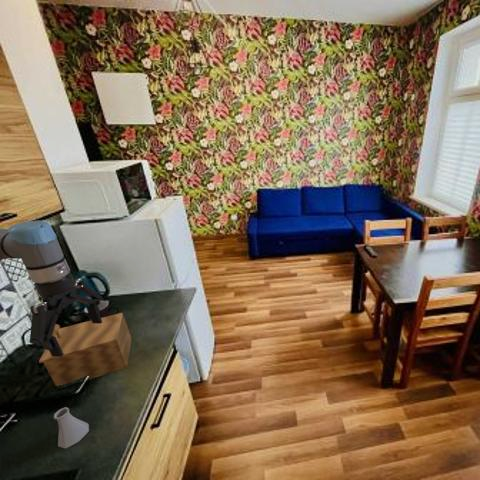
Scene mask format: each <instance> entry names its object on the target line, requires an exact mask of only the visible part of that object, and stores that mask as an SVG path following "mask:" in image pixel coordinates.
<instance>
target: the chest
mask: <svg viewBox="0 0 480 480" xmlns="http://www.w3.org/2000/svg"><path fill="white" fill-rule="evenodd" d="M131 346H132V336H131V333H130V331H129V327H128V324H127V322H126V318H125V316H124V315H123V316H122V320H121V324H120V329H119V333H118V338H117V341H115V342H111V343H108V344H104V345H101V346H97V347H94V348H90V349H87V350H84V351H80V352H77V353H73V354H70V355H66V356H63V357H59V358H56V359H53V360H49V361H46V362H42V363H43V365H44V367H45V369H46V370H47V372H48V374H49V376H50V378H51V379H52V382H53V383H54V385H55V387H56V386H59V385H63V384H67V383H70V382H72V381H75V380H78V379H80V378H83V377H85V376H89V380H88V381H90V380H93V379H96V378H99V377H103V376H105V375H108V374H111V373H114V372H117V371H120V370H123V369H127V368H128V365H129V360H130V359H129V358H130V351H131Z"/></svg>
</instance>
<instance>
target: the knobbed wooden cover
mask: <svg viewBox="0 0 480 480" xmlns="http://www.w3.org/2000/svg"><path fill="white" fill-rule="evenodd" d="M122 316H124V314H123V312H118V314H116V313H115V314H111V316H107V317H103V318H101V319H102V323H101V324H99V323H92V321H90V320H88V321H85V322H80V323H76V324H73V325H72V324H71V325H68V326H65V327H61V326H60V324H58V323H56V324H55V328H54V331H53V334H52V337H56V339H57V342H58V344H59V346H60V348H61V350H62V352H63V354H64V355H63V356H66V355H70V354H73V353H77V352H80V351H84V350H87V349H90V348H94V347H97V346H101V345H104V344H108V343H111V342H115V341H117V338H118V333H119V329H120V324H121V320H122ZM63 356H62V357H63ZM56 358H59V357H55V356H52V355H51V353H50V351H49V350H45V349H44V351H43V353H42V355H41V357H40V359H39V361H38V362H39V364H42V363H43V362H46V361H49V360H53V359H56Z"/></svg>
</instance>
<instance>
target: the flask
mask: <svg viewBox="0 0 480 480" xmlns="http://www.w3.org/2000/svg"><path fill="white" fill-rule="evenodd" d="M53 414H54V415H53V419H54V420H56V421H57V423H58V440H57V447H59V448H62V449H68V448H70V447H72V446H74V445H75V444H77V443H79V442H80V441H82V439H83V438H84V437H85V436H86V435H87V434H88V433H89V432H90V425H89V423H88V422H85V421H83V420H81V419H78V418H77V417H75V416H73V415H72V414H71V413H70V408H69V407H66V406H65V407H63V408H60V409H58V410H57V411H56V412H55V413H53Z"/></svg>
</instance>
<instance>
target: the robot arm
mask: <svg viewBox="0 0 480 480" xmlns="http://www.w3.org/2000/svg"><path fill="white" fill-rule="evenodd" d="M6 259H14V260H16V259H17V260H18V259H21V261H22V263H23V265H24V267H25V269H26V271H27V274H28V276H29V278H30V280H31V282H32V283H34V284H33V286H34V288H35V290H36V292H37V294H38V295H39V297H41V298H42V302H41V303H39V304H36V305H35V304H34V305H31V306H30V307H29V308H30V312H31V324H30V335H29V343H30V344H33V345H34V344H35V345H42V346H43V349H44V351H45V350H49V351H50V353H51V355H52V356H55V357H62V356H63V355H64V354H63V352H62V350H61V348H60V346H59V344H58V342H57V339H56V337H52V334H53V331H54V328H55V324H57V321H58V318H59V315H60V314H62V311H63V310H64V309H66V308H67V307H68V306H70V305H71V304H73V303H74V301H75V302H78V303H82V304H85V305H86V306H85V308H87V311H88V313H89V316H90V318H91V320H92V323H99V324H101V323H102V319H101V317H100V314H99V312H100V310H99V307H98V305H99V304H100V301H102V298H103V297H102V295H101V294H99V293H98V292H97V291H95V290H94V289H92V288H91V287H90V286H89V285H88V284H87V283H86V281H85V280H84V279H74V277H73V274H72V273H71V272H70V271H71V270H70V267H69V265H68V262H67V261H66V257H65V256H64V252H63V250H62V248H61V245H60V242H59V240H58V237H57V234H56V233H55V231H54V229H53V227H52V225H51V223H49V222H48V221H46V220H28V221H24V222H19V223H15V224H12V225H11V226H10V227H9V228H0V261H3V260H6ZM77 290H79V291H80V292H81V293H83V294H84V295H85V296H83V295H81V294H78V293H77ZM86 296H87V297H86Z"/></svg>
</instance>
